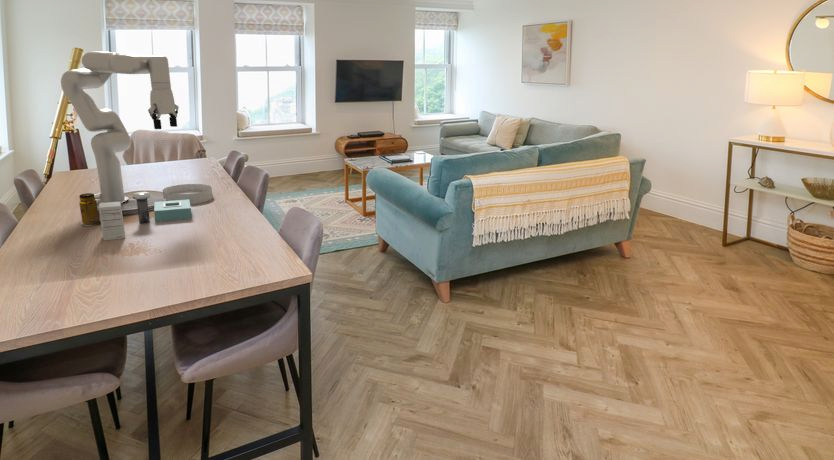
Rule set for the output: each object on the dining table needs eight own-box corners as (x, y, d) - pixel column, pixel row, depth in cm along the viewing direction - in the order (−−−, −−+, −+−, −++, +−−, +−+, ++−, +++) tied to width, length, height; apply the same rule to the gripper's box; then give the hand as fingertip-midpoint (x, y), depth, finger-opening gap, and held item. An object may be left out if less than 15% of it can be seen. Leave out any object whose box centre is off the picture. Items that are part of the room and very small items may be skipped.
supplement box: (103, 235, 223) (98, 202, 219) (125, 233, 226) (121, 201, 222) (102, 240, 216) (97, 207, 213) (125, 238, 219) (120, 205, 216)
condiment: (78, 223, 237) (74, 194, 234) (100, 219, 243) (96, 191, 240) (86, 227, 233) (81, 197, 229) (108, 222, 239) (104, 193, 235)
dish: (196, 206, 267) (195, 195, 265) (153, 203, 271) (151, 192, 269) (221, 195, 287) (220, 185, 286) (180, 192, 292) (179, 182, 290)
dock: (155, 221, 241) (154, 210, 240) (155, 211, 255) (154, 201, 254) (191, 218, 246) (190, 207, 245) (190, 209, 260) (189, 198, 259)
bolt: (135, 225, 236) (132, 196, 232) (136, 221, 241) (132, 192, 238) (153, 223, 238) (149, 194, 235) (153, 219, 244) (150, 191, 240)
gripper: (167, 85, 255) (172, 125, 260) (138, 87, 239) (144, 129, 244) (182, 85, 253) (186, 125, 258) (154, 87, 237) (159, 130, 242)
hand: (166, 127), depth 251 cm, fingers open, 9 cm apart
